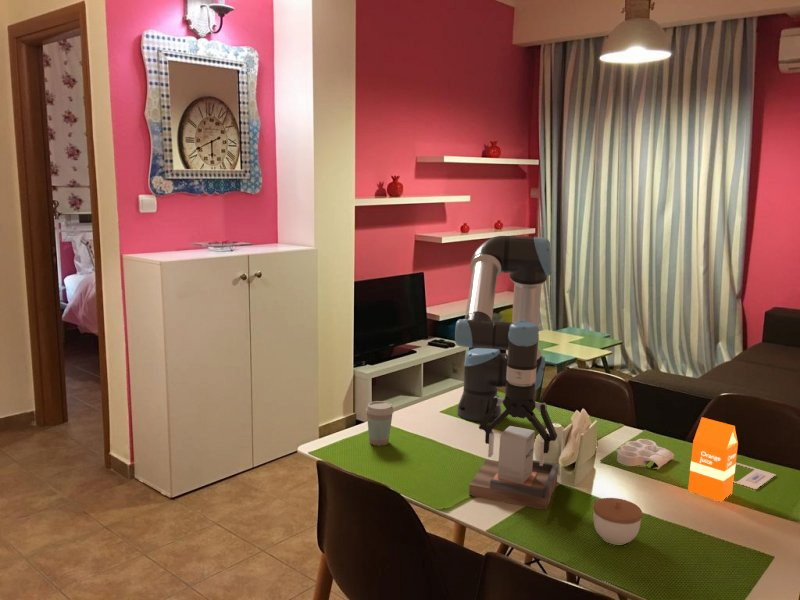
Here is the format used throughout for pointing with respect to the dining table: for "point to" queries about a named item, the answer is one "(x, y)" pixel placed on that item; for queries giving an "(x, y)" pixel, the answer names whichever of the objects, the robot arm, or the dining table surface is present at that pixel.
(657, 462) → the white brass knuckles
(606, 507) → the lidded jar
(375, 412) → the coffee cup
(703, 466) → the orange juice
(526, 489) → the dock
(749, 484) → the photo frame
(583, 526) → the dining table surface
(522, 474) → the supplement box
